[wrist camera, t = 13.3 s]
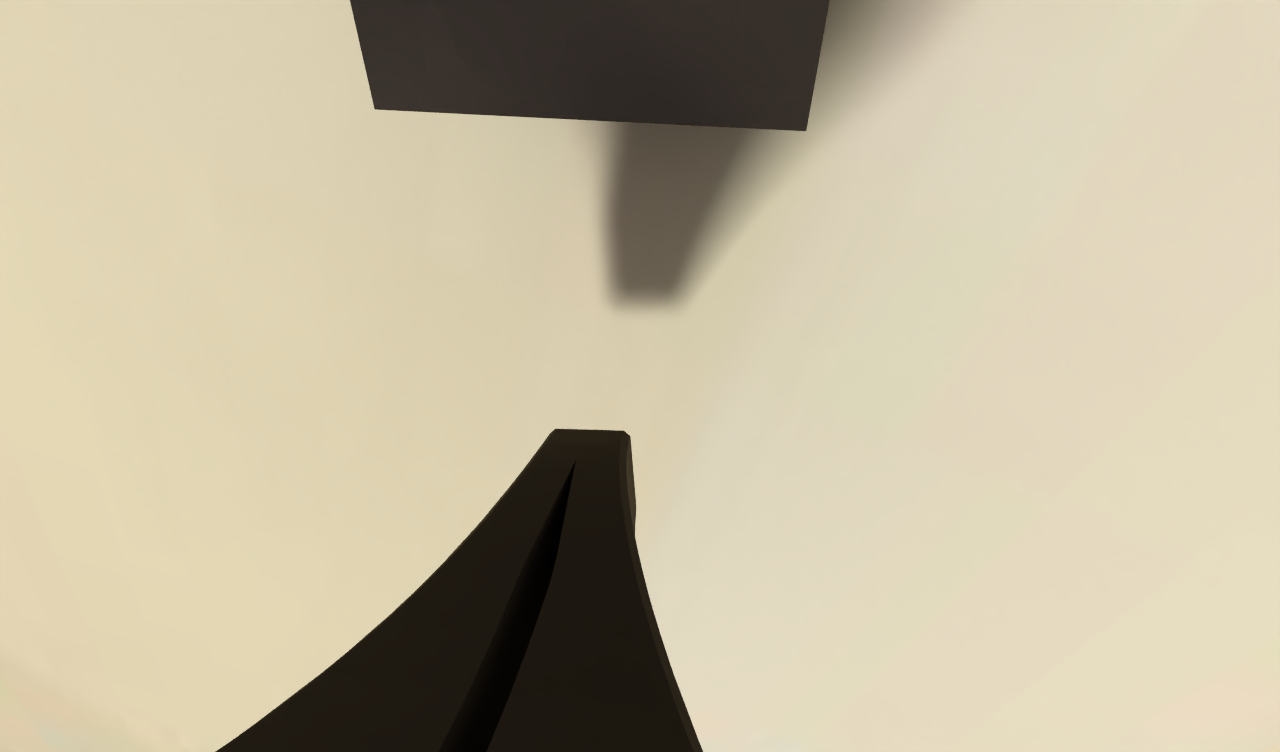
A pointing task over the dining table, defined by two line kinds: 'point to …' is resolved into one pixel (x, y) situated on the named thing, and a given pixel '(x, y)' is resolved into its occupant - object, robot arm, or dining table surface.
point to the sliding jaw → (597, 59)
